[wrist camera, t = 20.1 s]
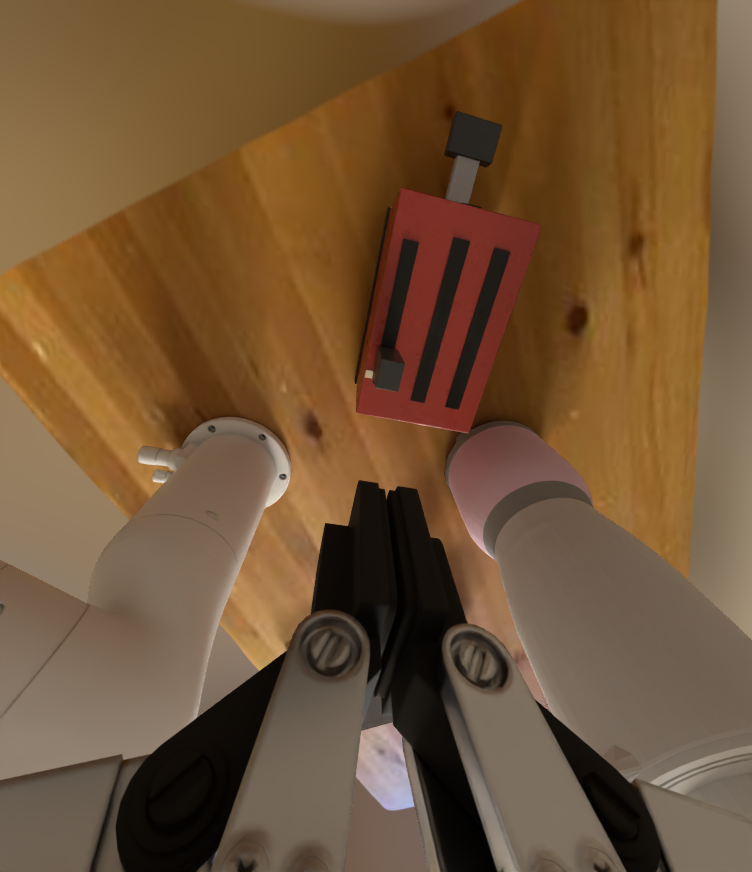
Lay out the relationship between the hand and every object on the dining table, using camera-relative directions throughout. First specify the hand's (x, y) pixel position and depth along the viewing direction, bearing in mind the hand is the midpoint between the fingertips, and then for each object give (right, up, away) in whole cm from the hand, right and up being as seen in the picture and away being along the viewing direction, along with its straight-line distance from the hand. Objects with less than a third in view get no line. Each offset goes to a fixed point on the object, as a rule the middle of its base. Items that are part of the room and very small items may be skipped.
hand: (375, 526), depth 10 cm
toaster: (+4, +15, +25) cm, 30 cm away
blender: (+16, -1, +33) cm, 37 cm away
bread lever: (+7, +24, +17) cm, 30 cm away
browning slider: (+1, +8, +17) cm, 19 cm away
